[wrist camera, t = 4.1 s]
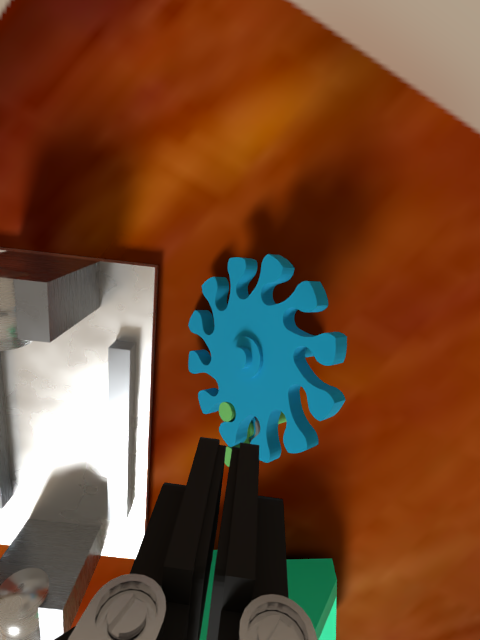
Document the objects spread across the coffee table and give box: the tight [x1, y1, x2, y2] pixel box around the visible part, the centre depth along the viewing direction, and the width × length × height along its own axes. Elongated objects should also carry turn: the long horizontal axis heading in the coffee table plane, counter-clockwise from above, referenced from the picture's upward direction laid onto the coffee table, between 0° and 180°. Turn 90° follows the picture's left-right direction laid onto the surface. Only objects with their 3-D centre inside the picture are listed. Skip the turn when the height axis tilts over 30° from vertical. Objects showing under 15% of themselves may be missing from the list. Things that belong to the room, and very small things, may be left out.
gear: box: [188, 254, 347, 467], centre depth 20 cm, size 11×6×10 cm
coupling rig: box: [0, 247, 158, 640], centre depth 21 cm, size 11×21×7 cm, turn 174°
